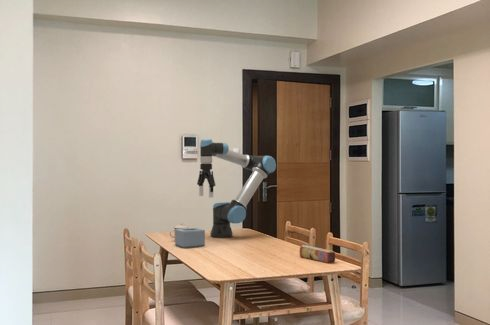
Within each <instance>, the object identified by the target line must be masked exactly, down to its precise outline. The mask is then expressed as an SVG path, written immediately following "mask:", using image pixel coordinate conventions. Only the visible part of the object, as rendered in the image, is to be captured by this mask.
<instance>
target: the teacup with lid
mask: <svg viewBox="0 0 490 325" xmlns="http://www.w3.org/2000/svg"><path fill="white" fill-rule="evenodd" d="M184 228H189V226H187V225H185V224H184V223H183V222H179V224H177V225H176V226H174V228H173V229H172V230H170V231H169V236H170V237H171V238H173V239H175V236H172V234H171V233H172V232H175V229H184Z"/></svg>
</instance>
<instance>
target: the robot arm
mask: <svg viewBox="0 0 490 325" xmlns="http://www.w3.org/2000/svg"><path fill="white" fill-rule="evenodd" d="M199 148H200V151H199V152H200V155H199V156H200V158H199V160H200V162H199V163H200V165H199V168H200V170H199V172H198V173H199V175H198V179H197V183H196V184H197V185H198V196H199V197H204V182H205V181H207V183H208V198H214V187H215V186H216V181H215V177H214V171H213V164H212V163H213V157H215V158H218V159H221V160H223V161H227V162H230V163H233V164H235V165H239V166H240V167H242V168H244V169H247V170H249V171H251V172H252V173H250V176H249V178H247V180H246V182H245V183H244V184H243V187H242V188H241V190H240V191H239V193H238V194H237V195H236V197H235V198H234V199H231V201H230V202H229V201H227V202H215V203H214V204H213V206H212V227H211V231H210V233H209V234H210V235H209V236H210V237H211V238H219V239H220V238H221V239H224V238H231V237H233V236H234V235H233V231H232V227H231V224H233V225H234V224H240V223H242V222H243V221H245V219H246V216H247V205H248V204H249V202H250V200H251V199H252V197H253V196H254V194H255V193H256V191H257V189H258V188H259V186H260V184H261V183H262V182H263V180H264V179H267V178H268V176H269V174H272V173H274V172H276V168H277V164H276V159H275V158H274V157H272V156H271V155H251V154H250V155H249V154H242V153H239V152H236V151H233V150H230V149H229V148H230V147H229V145H228V143H225V142H213V139H211V138H210V139H209V138H207V139H206V138H204V139H200V146H199Z"/></svg>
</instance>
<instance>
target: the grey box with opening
mask: <svg viewBox="0 0 490 325" xmlns="http://www.w3.org/2000/svg"><path fill="white" fill-rule="evenodd" d="M174 230H175V231H174V237H175V238H174V246H175V247H178V248H181V249H193V248H203V247H204V248H206V247H205V246H206V230H205V229H202V228H199V227H188V228H184V229H174Z"/></svg>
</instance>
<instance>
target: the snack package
mask: <svg viewBox="0 0 490 325" xmlns="http://www.w3.org/2000/svg"><path fill="white" fill-rule="evenodd" d="M299 257H301V258H302V257H303V259H304V258H305V259H308V260H312V261H313V260H314V261H316V262H322V263H324V264H325V263H326V264H333V263H335V261H336V252H335V251H334V250H331V249H326V248H325V249H324V248H321V247H315V246H311V245H309V244H308V245H307V244H302V245H301V246H300V248H299Z"/></svg>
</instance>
